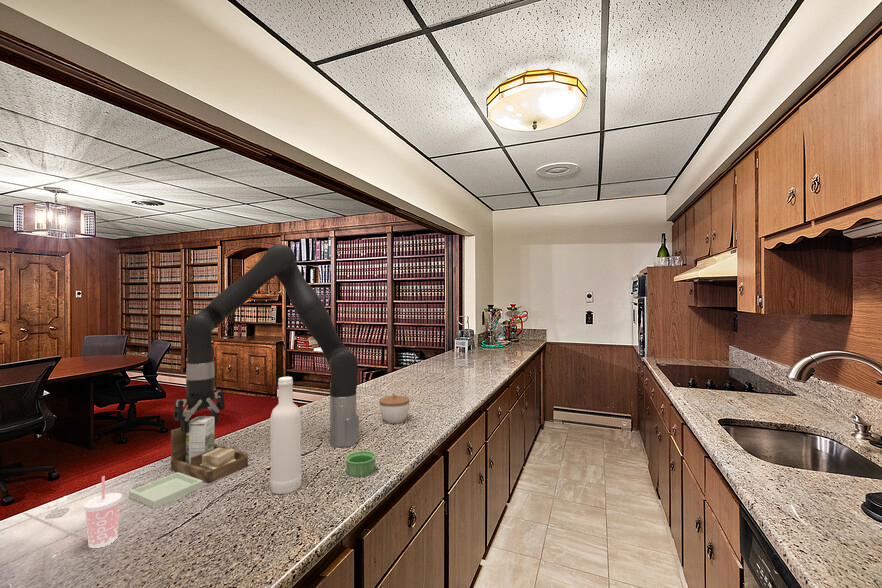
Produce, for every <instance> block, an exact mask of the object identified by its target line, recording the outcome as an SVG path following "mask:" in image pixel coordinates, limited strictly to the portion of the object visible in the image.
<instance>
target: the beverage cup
mask: <svg viewBox="0 0 882 588" xmlns="http://www.w3.org/2000/svg"><path fill="white" fill-rule="evenodd" d="M105 479H106V476H105V475H102V476H101V495H98V496H95V497H93V498H91V499H89V500H87V501H86V502H85V503H84V504H83V508H84V509H83V510H84V511H85V518H86V520H85V521H86V529H87V530H86V533H87V541H88V542H87V543H88V548H89V547H90V548H100V547H103V548H106V547H107V545H108V546H111V545H112V544H113V542H114V541H115V540H116V539H117V540H118V534H119V523H120V522H119V521H120V509H121V508H120V506H121V502H122V500H123V498H122V496H123V494H121V493H120V492H109V493H106V480H105ZM117 540H116V541H117ZM116 541H115V542H116ZM115 542H114V543H115ZM111 543H112V544H111ZM105 546H106V547H105ZM90 548H89V549H90ZM100 549H101V548H100Z"/></svg>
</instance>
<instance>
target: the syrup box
mask: <svg viewBox="0 0 882 588" xmlns="http://www.w3.org/2000/svg"><path fill="white" fill-rule="evenodd" d="M188 421H189V433H186V463H189V464H191V457H194V456H196V455H199V454H202V453H205V452H207V451H210V450H213V449H214V444H215V429H216V428H215V426H216V425H215V417H212V416H211V415H209V416H207V415H202V416H196V417H195V418H193V419H191V420H190V419H189V420H188Z"/></svg>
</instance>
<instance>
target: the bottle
mask: <svg viewBox="0 0 882 588" xmlns="http://www.w3.org/2000/svg"><path fill="white" fill-rule="evenodd" d="M277 381H278V382H277V386H278V403H277V405H276V406H275V407H273V408H272V411H271V413H270V421H269V423H270V428H269V429H270V479H269V480H270V486H269V487H270V492H271V493H273V494H276V495H286V494H291V493H293V492H295V491H297V490H298V489H300V487H301V486H302V424H301V423H302V420H301V419H302V416H301V411H300V408H299V406H298V405H297V404H296V403H294V401H293V392H294V391H293V386H294V385H293V384H294V380H293V377H292V376H282V377H279V378H278V379H277Z"/></svg>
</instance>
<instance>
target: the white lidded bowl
mask: <svg viewBox="0 0 882 588" xmlns="http://www.w3.org/2000/svg"><path fill="white" fill-rule="evenodd" d="M378 403H379V412H380V416H381V417H382V419H383V420H384V421H385V422H386V424H391V423H396V424H400V422H401V423H403V422H404V420H405V419H406V417H407V416H408V414H409V409H410V398H409V396H405V395H398V394H392V395H388V396H384V397H381V398H379V402H378Z"/></svg>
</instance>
